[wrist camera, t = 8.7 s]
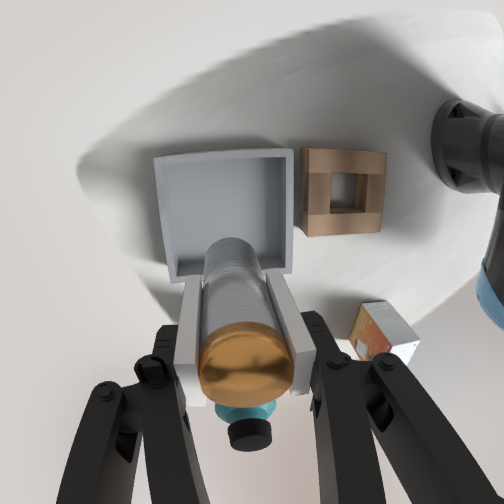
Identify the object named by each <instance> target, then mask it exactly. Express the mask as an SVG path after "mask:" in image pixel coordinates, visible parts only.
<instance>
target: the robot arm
mask: <svg viewBox="0 0 504 504" xmlns="http://www.w3.org/2000/svg"><path fill="white" fill-rule="evenodd" d="M432 152H433V158H434V162H435V165H436V168H437V171H438V173H439V175H440V177H441V179H442V180H443V181H444V183H445V184H446V185H447V186H448V187H450V188H451V189H454V190H456V191H459V192H462V193H466V194H471V193H486V192H493V193H496V194H498V195H500V198H499V203H498V208H497V213H496V218H495V222H494V226H493V230H492V234H491V238H490V241H489V245H488V248H487V251H486V255H485V258H483V260H482V263H481V271H480V274H479V277H478V280H477V284H476V294H477V298H478V300H479V302H480V305H481V307H482V309H483V310H484V312H485V313H486V314H487V316H488V317H489V318H490V319H491V320H492V321H493V322H494V323H495V324H496V325H497V326H498V327H499V328H500V329H502V330H503V331H504V115H500V114H493V113H491V112H489V111H487V110H485V109H483V108H481V107H479V106H477V105H475V104H473V103H471V102H468V101H463V100H452V101H449V102H447V103H445V104H444V105H443V106H442V107H441V108H440V109H439V111H438V113H437V115H436V117H435V120H434V124H433V129H432ZM266 286H267V289H268V292H269V295H270V298H271V301H272V304H273V307H274V310H275V313H276V316H277V319H278V322H279V325H280V328H281V331H282V334H283V337H284V340H285V343H286V346H287V349H288V352H289V355H290V358H291V361H292V364H293V367H294V377H293V383H292V384H291V386H290V387H289V390H290V394H291V396H292V397H293V396H298V395H304V394H309V390H310V387H311V390H312V392H313V398H312V402H311V407H310V411H312V410H313V416H314V426H315V437H316V448H317V459H318V471H319V486H320V503H321V504H386V499H385V493H384V487H383V482H382V476H381V471H380V466H379V462H378V457H377V452H376V448H375V444H374V439H373V434H372V431H373V433H374V435H375V436H376V438H377V440H378V442H379V444H380V445H381V447H382V449H383V451H384V452H385V454H386V456H387V458H388V460H389V462H390V464H391V465H392V467H393V469H394V471H395V473H396V475H397V477H398V478H399V480H400V482H401V484H402V486H403V488H404V489H405V491H406V493H407V494H408V497H409V499H410V501H411V502H412V504H504V499H503V498H502V497H500V496H498V495H497V493H496V491H495V490H494V488H493V487H492V485H491V483H490V482H489V480H488V479H487V477H486V476H485V474H484V472H483V471H482V469H481V468H480V466H479V465H478V463H477V462H476V460H475V459H474V457H473V456H472V454H471V453H470V451H469V450H468V448H467V447H466V445H465V444H464V442H463V441H462V440H461V438H460V437H459V435H458V434H457V432H456V431H455V430H454V428H453V427H452V426H451V424H450V423H449V421H448V420H447V419H446V417H445V416H444V414H443V413H442V412H441V411H440V409H439V408H438V406H437V405H436V404H435V402H434V401H433V400H432V398H431V397H430V396H429V394H428V393H427V392H426V391H425V389H424V388H423V387H422V385H421V384H420V383H419V381H418V380H417V379H416V378H415V376H414V375H413V374H412V373H411V371H410V370H409V369H408V367H407V366H406V365H405V364H404V362H403V361H402V360H401V359H400V358H399V357H398V356H397V355H395V354H393V353H390V352H382V353H379V354H377V355H375V357H374V358H373V360H372V361H357V360H352V359H351V357H350V356H349V355H347V354H346V353H344V352H341V351H340V349H339V347H338V346H337V344H336V342H335V340H334V338H333V336H332V334H331V333H330V331H329V329H328V327H327V325H326V323H325V322H324V320H323V318H322V316H320V315H319V314H318V313H317V312H315V311H309V312H301V313H300V312H299V310H298V308H297V305H296V303H295V301H294V299H293V297H292V294H291V292H290V290H289V288H288V286H287V284H286V281H285V279H284V277H283V275H282V273H281V271H280V269H279V268H272V269H266ZM202 291H203V290H202V283H201V275H188V276H187V277H186V282H185V288H184V294H183V300H182V306H181V313H180V319H179V325H163V326H162V327H161V328H160V329H159V330H158V332H157V334H156V339H155V343H154V348H153V353H152V354H150V355H146V356H143V357H142V358H140V359H139V360H138V361H137V362H136V363H135V366H134V371H135V373H136V375H137V377H138V379H139V381H140V382H139V383H137V384H134V385H131V386H127V387H122V388H121V387H120V386H119V385H118V384H117V383H115V382H112V381H105V382H102V383H99V384H98V385H97V386H95V388H94V389H93V391H92V393H91V396H90V398H89V400H88V403H87V405H86V408H85V411H84V413H83V416H82V419H81V421H80V424H79V427H78V430H77V433H76V436H75V438H74V441H73V444H72V447H71V451H70V454H69V457H68V460H67V464H66V467H65V470H64V474H63V477H62V481H61V485H60V489H59V493H58V497H57V501H56V504H131V499H132V492H133V486H134V479H135V473H136V467H137V462H138V456H139V450H140V446H141V440H142V435H143V441H144V451H145V460H146V468H147V476H148V482H149V489H150V495H151V501H152V504H210V501H209V498H208V495H207V492H206V488H205V485H204V481H203V477H202V474H201V470H200V466H199V462H198V458H197V454H196V450H195V446H194V441H193V437H192V432H191V428H190V423H189V418H188V414H187V412H186V410H185V409H186V402H187V405H188V407H189V406H206V396H205V394H204V393H203V392H202V389H201V386H200V382H199V359H200V330H201V309H202ZM371 429H372V430H371Z"/></svg>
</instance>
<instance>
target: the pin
mask: <svg viewBox="0 0 504 504" xmlns="http://www.w3.org/2000/svg"><path fill="white" fill-rule="evenodd" d="M293 377H294V367H293V364H292V361H291V358H290V355H289V352H288V349H287V346H286V343H285V340H284V337H283V334H282V331H281V328H280V325H279V322H278V319H277V316H276V313H275V310H274V307H273V304H272V301H271V298H270V295H269V292H268V289H267V286H266V283H265V280H264V277H263V274H262V271H261V268H260V265H259V262H258V259H257V256H256V253H255V251H254V249H253V248H252V246H251V245H250V244H249V243H247V242H246V241H244V240H242V239H240V238H235V237H227V238H223V239H220V240H218V241H216V242H215V243H213V244H212V245H211V246H210V247H209V249H208V250H207V252H206V255H205V261H204V275H203V291H202V309H201V330H200V359H199V382H200V386H201V389H202V392H203V393H204V394H205V396H207V397H208V398H209V399H210V400H212V401H214V402H216V403H218V404H221V405H224V406H228V407H236V408H247V407H255V406H259V405H263V404H266V403H269V402H271V401H273V400H275V399H277V398H278V397H280V396H281V395H283V394H284V393H285V392H286V391H287V390H288V389H289V387H290V386H291V384H292V383H293Z"/></svg>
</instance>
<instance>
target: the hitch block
mask: <svg viewBox="0 0 504 504" xmlns="http://www.w3.org/2000/svg"><path fill="white" fill-rule="evenodd" d="M386 158H387V154H386V153H380V152H374V151H363V150H348V149H328V148H301V218H300V229H301V230H302V231H303V232H304V233H305V235H306V236H307V237H313V236H328V235H344V234H359V233H376V232H380V230H381V222H382V213H383V203H384V191H385V178H386ZM331 173H356V189H355V205H354V207H330V194H331Z"/></svg>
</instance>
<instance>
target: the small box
mask: <svg viewBox="0 0 504 504" xmlns="http://www.w3.org/2000/svg"><path fill="white" fill-rule="evenodd" d="M349 341H350V343H351V345H352V346H353V348H354V350H355V351H356V353H357V355H358V357H359V358H360V360H361V361H372V360H373V358H374V357H375V355H377V354H379V353H382V352H390V353H393V354H395V355H397V356H398V357H399V358H400V359H401V360H402V361H403V362H404V364H405V365H406V366H407V364H408V362H409V360H410V358H411V356H412V354H413V353H414V351H415V349H416V347H417V345H418V344H419V342H420V338H419V337H418V336H417V334H416V333H415V332H414V331H413V330H412V328H411V327H410V326H409V325H408V324H407V323H406V321H405V320H404V319H403V318H402V317H401V316H400V314H399V313H398V312H397V311H396V310H395V309H394V307H393V306H392V305H391V304H390V303H389V302H388V301H385V302H374V303H362V304H361V307H360V310H359V314H358V317H357V320H356V322H355V325H354V328H353V331H352V333H351V336H350V338H349Z"/></svg>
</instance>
